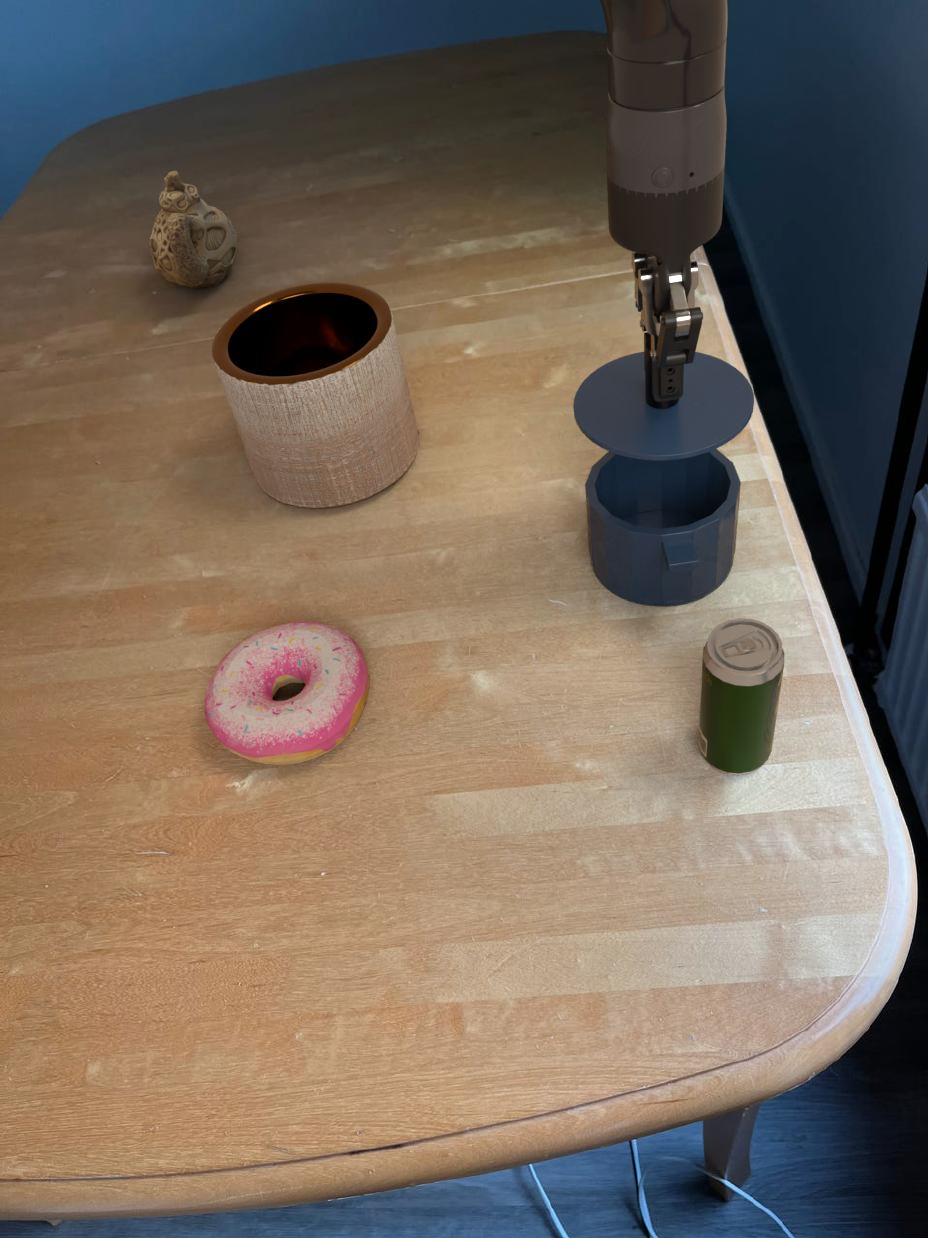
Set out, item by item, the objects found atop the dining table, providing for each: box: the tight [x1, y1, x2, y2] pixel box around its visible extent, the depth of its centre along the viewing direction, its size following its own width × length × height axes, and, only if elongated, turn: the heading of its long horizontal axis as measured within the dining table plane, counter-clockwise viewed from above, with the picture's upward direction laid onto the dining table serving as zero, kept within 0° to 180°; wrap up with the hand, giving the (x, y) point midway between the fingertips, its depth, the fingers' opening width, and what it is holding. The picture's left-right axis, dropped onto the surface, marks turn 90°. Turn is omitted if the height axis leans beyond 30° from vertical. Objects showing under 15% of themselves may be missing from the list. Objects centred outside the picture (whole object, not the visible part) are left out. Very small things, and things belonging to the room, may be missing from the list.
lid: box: [572, 338, 755, 461], centre depth 78 cm, size 14×14×6 cm
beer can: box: [697, 617, 785, 777], centre depth 73 cm, size 5×5×12 cm
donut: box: [204, 621, 371, 766], centre depth 84 cm, size 14×13×5 cm
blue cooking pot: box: [584, 448, 742, 608], centre depth 89 cm, size 13×18×8 cm
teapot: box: [148, 170, 239, 290], centre depth 133 cm, size 21×12×15 cm, turn 13°
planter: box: [211, 281, 420, 510], centre depth 102 cm, size 18×18×16 cm
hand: (663, 384), depth 78 cm, fingers closed on lid, 2 cm apart
